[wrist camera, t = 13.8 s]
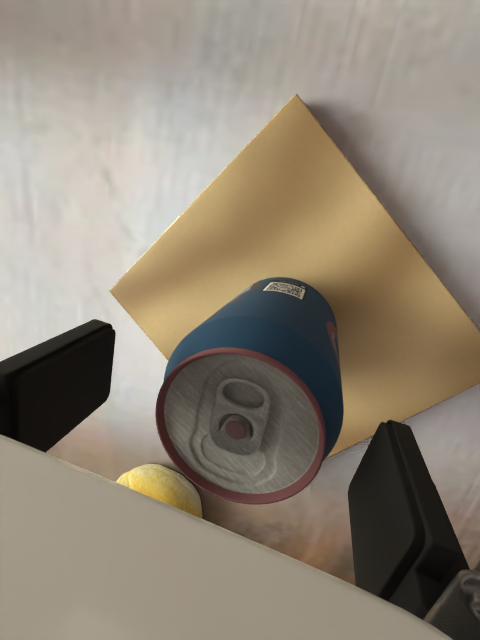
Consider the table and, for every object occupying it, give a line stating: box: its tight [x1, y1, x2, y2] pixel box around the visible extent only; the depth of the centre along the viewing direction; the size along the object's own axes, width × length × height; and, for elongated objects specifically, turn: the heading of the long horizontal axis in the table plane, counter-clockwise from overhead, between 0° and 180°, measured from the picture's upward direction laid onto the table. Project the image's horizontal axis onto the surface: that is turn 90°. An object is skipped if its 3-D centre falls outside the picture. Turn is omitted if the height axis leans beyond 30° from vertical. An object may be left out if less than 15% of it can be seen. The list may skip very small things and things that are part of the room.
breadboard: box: [109, 94, 480, 459], centre depth 22 cm, size 20×18×2 cm
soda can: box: [156, 277, 344, 505], centre depth 16 cm, size 7×7×12 cm
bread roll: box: [116, 464, 202, 519], centre depth 29 cm, size 8×9×4 cm
